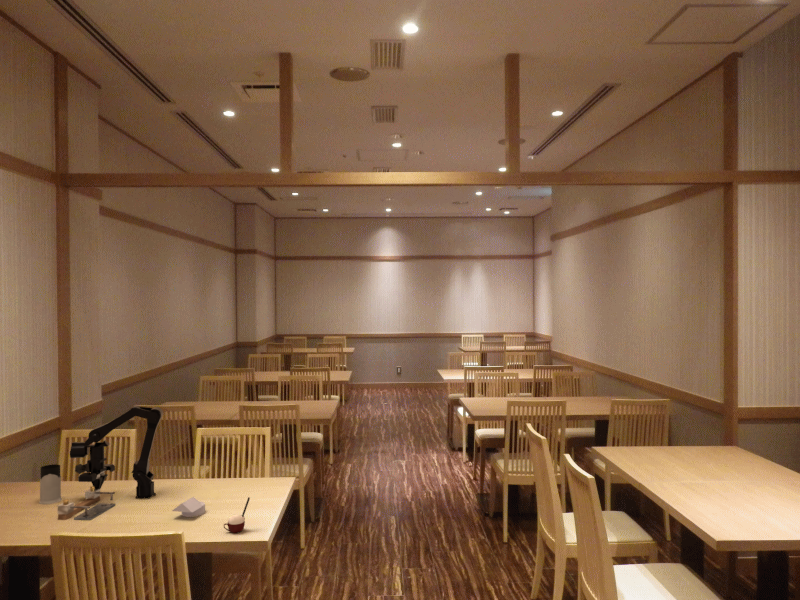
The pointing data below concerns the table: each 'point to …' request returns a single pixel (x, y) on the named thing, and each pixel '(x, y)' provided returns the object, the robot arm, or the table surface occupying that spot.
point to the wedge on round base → (191, 508)
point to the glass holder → (50, 484)
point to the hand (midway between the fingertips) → (97, 492)
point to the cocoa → (236, 521)
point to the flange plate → (95, 511)
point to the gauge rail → (74, 508)
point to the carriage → (96, 493)
